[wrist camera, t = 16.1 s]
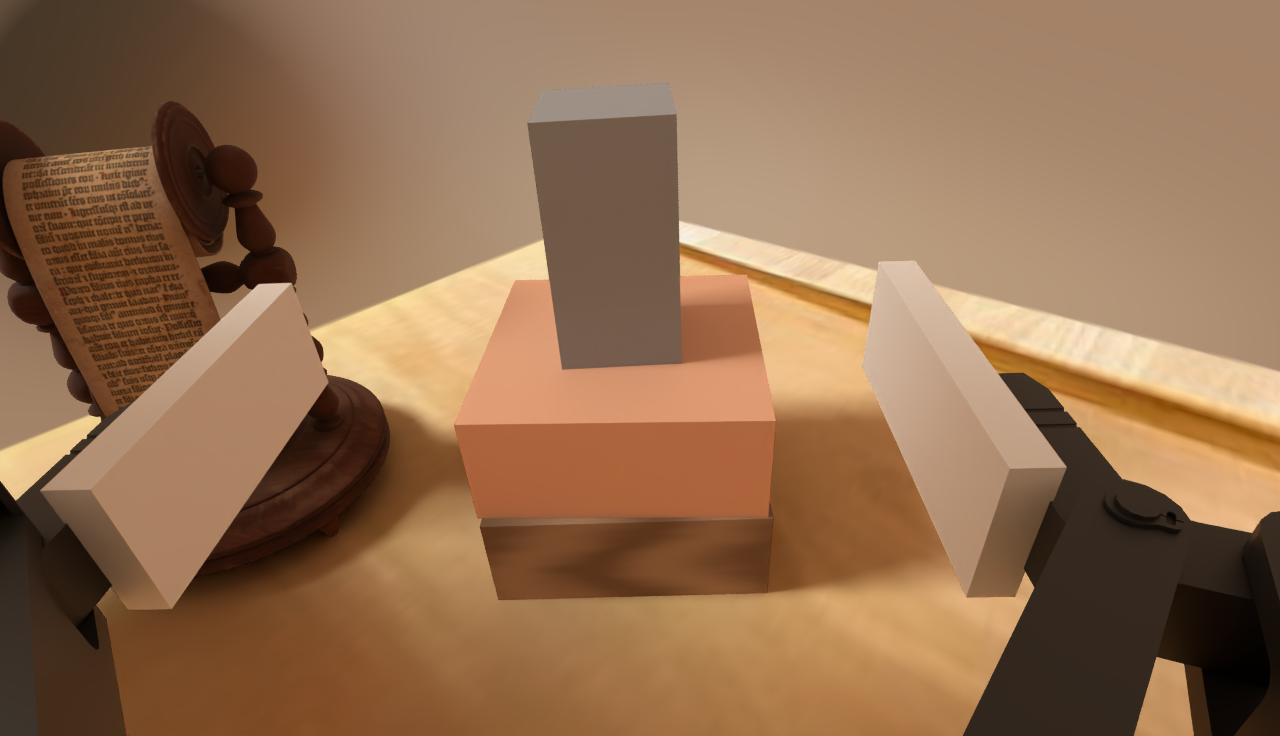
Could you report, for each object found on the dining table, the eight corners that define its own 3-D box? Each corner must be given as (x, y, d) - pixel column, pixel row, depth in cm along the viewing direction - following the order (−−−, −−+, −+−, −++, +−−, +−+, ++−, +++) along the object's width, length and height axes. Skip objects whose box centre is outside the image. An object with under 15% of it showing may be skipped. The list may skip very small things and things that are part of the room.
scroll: (42, 628, 31) (-334, 196, 19) (163, 428, 43) (-27, 89, 32) (382, 564, 33) (218, 140, 22) (406, 390, 45) (308, 61, 34)
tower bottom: (499, 604, 31) (479, 527, 28) (535, 435, 41) (523, 365, 38) (766, 598, 30) (773, 518, 28) (736, 428, 40) (739, 357, 38)
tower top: (477, 518, 28) (453, 424, 26) (528, 360, 38) (515, 280, 36) (768, 517, 28) (775, 420, 25) (743, 356, 38) (746, 274, 35)
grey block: (562, 369, 28) (527, 123, 23) (569, 311, 33) (542, 90, 27) (681, 362, 28) (676, 114, 23) (674, 305, 33) (668, 82, 27)
